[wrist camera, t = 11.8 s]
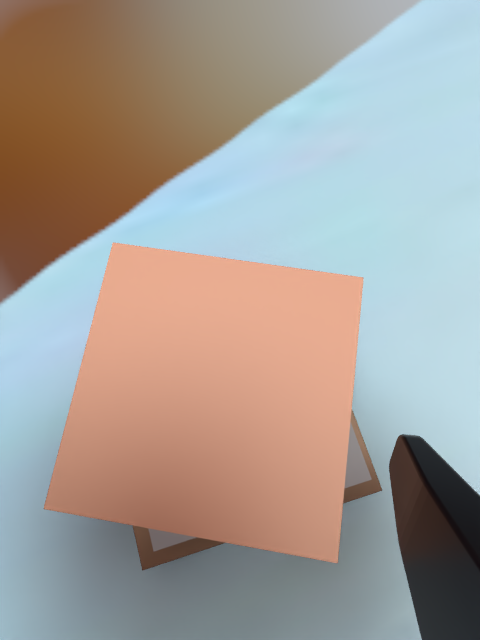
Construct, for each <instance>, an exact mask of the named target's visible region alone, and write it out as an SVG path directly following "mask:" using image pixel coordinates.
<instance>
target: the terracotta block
mask: <svg viewBox="0 0 480 640" xmlns="http://www.w3.org/2000/svg"><path fill="white" fill-rule="evenodd" d="M362 288H363V277H355V276H348V275H341V274H334V273H327V272H320V271H313V270H306V269H298V268H291V267H284V266H277V265H270V264H263V263H256V262H248V261H241V260H234V259H227V258H220V257H213V256H206V255H198V254H191V253H184V252H177V251H170V250H163V249H156V248H148V247H141V246H134V245H127V244H120V243H113V244H112V248H111V252H110V255H109V259H108V263H107V267H106V271H105V275H104V278H103V282H102V286H101V290H100V294H99V298H98V302H97V305H96V309H95V313H94V317H93V321H92V325H91V328H90V332H89V336H88V340H87V344H86V348H85V351H84V355H83V359H82V363H81V367H80V371H79V375H78V378H77V382H76V386H75V390H74V394H73V398H72V401H71V405H70V409H69V413H68V417H67V421H66V424H65V428H64V432H63V436H62V440H61V444H60V448H59V451H58V455H57V459H56V463H55V467H54V471H53V474H52V478H51V482H50V486H49V490H48V494H47V497H46V501H45V505H44V509H47V510H52V511H58V512H63V513H68V514H74V515H79V516H85V517H90V518H95V519H101V520H106V521H112V522H117V523H122V524H128V525H133V526H139V527H144V528H149V529H155V530H160V531H166V532H171V533H176V534H182V535H187V536H193V537H198V538H204V539H209V540H214V541H220V542H225V543H231V544H236V545H241V546H247V547H252V548H258V549H263V550H268V551H274V552H279V553H285V554H290V555H295V556H301V557H306V558H312V559H317V560H323V561H328V562H333V563H338V553H339V542H340V531H341V520H342V509H343V498H344V487H345V476H346V465H347V454H348V443H349V432H350V421H351V410H352V399H353V388H354V377H355V365H356V354H357V343H358V332H359V321H360V310H361V299H362Z"/></svg>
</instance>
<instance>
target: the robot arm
mask: <svg viewBox="0 0 480 640" xmlns="http://www.w3.org/2000/svg"><path fill="white" fill-rule="evenodd" d="M389 472H390V480H391V488H392V496H393V504H394V511H395V519H396V527H397V534H398V541H399V546H400V551H401V555H402V560H403V564H404V568H405V572H406V576H407V580H408V584H409V588H410V592H411V597H412V601H413V605H414V609H415V613H416V617H417V621H418V625H419V630H420V634H421V638H422V640H480V495H479V494H478V493H477V492H476V491H475V490H474V489H473V488H472V487H471V486H470V485H469V484H468V483H467V482H466V481H465V480H464V479H463V478H462V477H461V476H460V475H459V474H458V473H457V472H456V471H455V470H454V469H453V468H452V467H451V466H450V465H449V464H448V463H447V462H446V461H445V460H444V459H443V458H442V457H441V456H440V455H439V454H438V453H437V452H436V451H435V450H434V449H433V448H432V447H431V446H430V445H429V444H428V443H427V442H426V441H425V440H424V439H423V438H421V437H420V436H415V435H405V434H402V435H400V436H399V437H398V439H397V441H396V444H395V447H394V450H393V453H392V456H391V459H390V464H389Z"/></svg>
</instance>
